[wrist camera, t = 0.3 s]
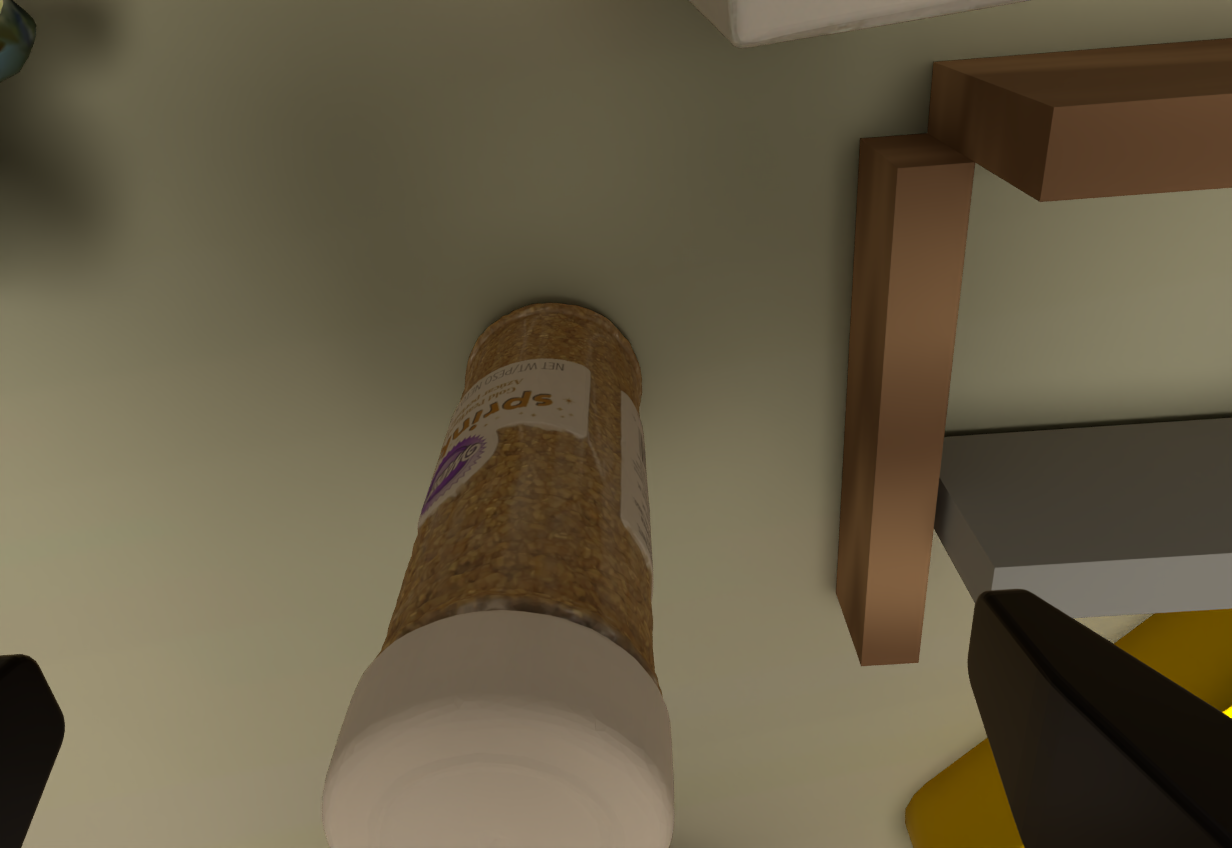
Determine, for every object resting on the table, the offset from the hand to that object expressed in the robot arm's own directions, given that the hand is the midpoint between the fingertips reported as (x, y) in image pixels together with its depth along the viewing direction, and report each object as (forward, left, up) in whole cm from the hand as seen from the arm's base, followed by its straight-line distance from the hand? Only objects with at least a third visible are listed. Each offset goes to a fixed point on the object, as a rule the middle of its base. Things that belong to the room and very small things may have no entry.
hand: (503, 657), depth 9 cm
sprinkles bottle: (-4, +1, -15) cm, 15 cm away
